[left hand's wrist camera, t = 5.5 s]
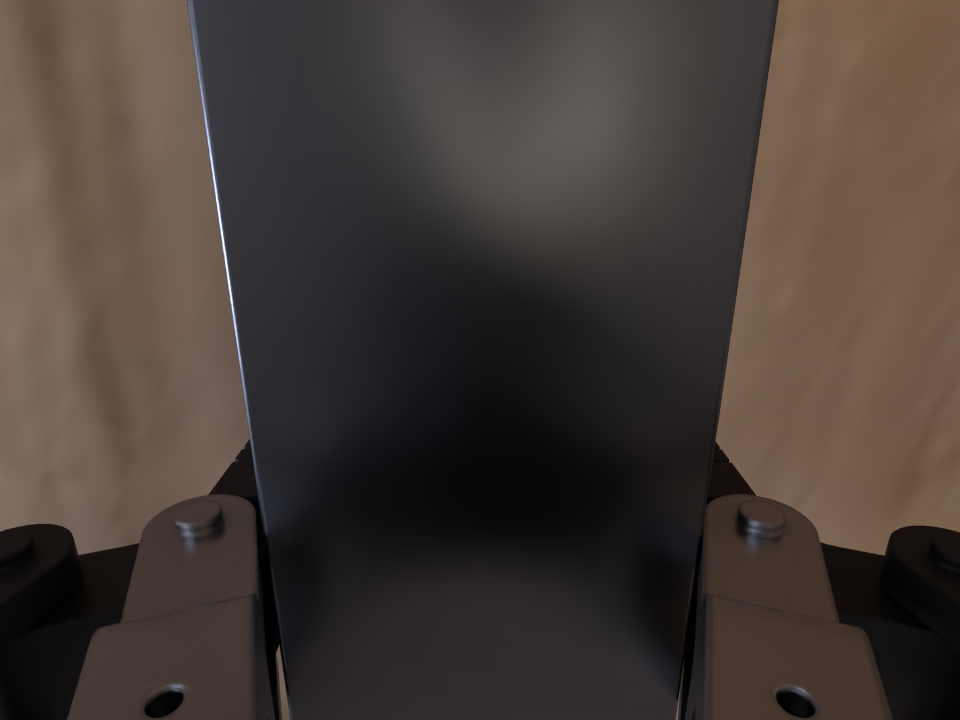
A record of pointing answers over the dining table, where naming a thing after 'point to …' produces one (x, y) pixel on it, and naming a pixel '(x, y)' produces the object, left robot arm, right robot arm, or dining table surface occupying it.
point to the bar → (482, 334)
